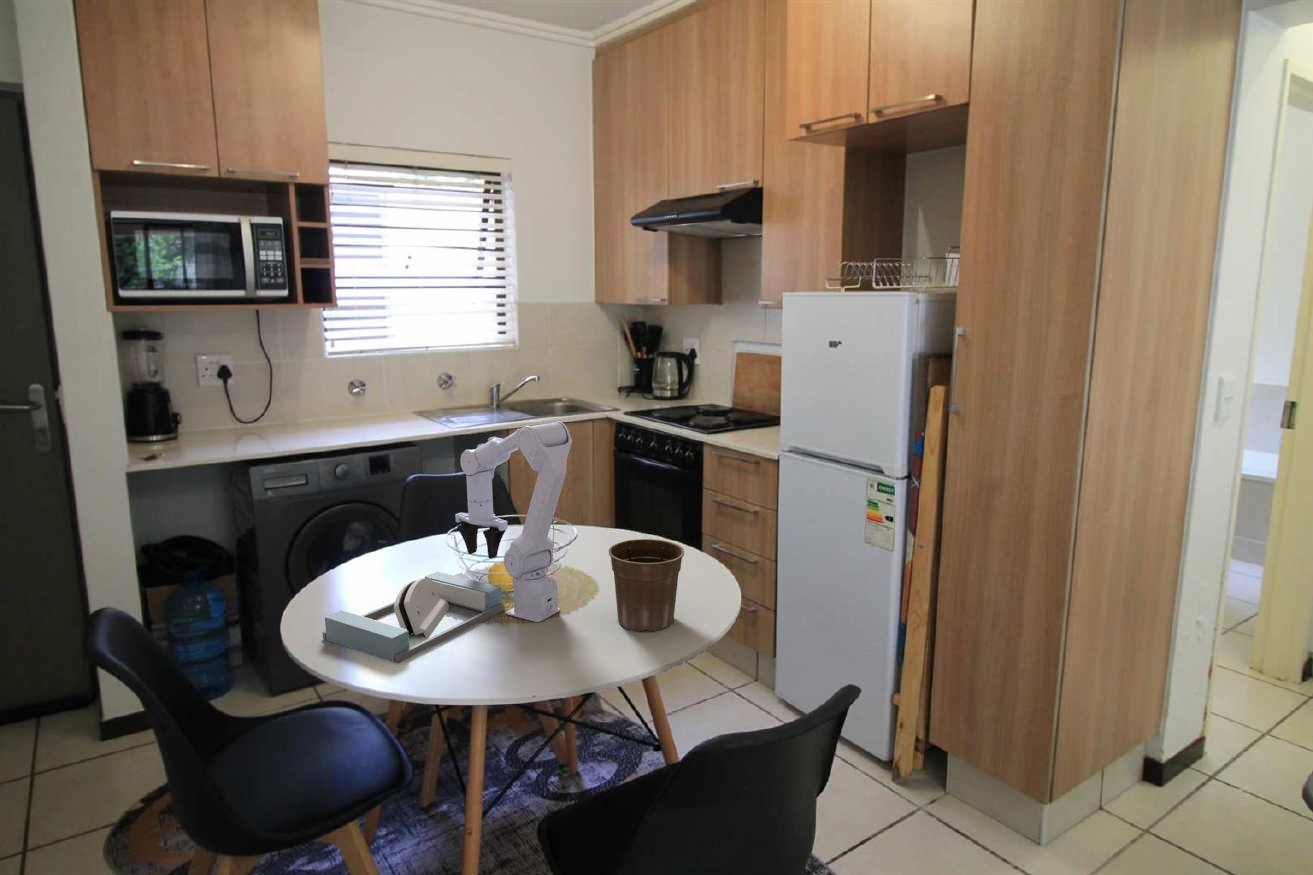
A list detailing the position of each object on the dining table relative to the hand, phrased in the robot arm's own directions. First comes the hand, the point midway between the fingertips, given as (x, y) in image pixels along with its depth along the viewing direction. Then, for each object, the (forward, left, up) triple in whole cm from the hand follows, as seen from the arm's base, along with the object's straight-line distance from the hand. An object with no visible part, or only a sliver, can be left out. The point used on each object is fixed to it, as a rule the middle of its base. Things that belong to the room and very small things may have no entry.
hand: (482, 555), depth 186 cm
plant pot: (-42, -6, -10) cm, 43 cm away
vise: (0, +21, -9) cm, 23 cm away
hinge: (0, +19, -10) cm, 22 cm away
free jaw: (0, +7, -9) cm, 12 cm away
